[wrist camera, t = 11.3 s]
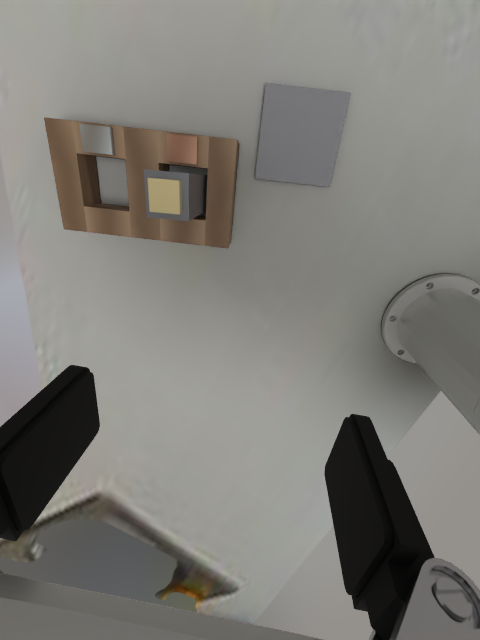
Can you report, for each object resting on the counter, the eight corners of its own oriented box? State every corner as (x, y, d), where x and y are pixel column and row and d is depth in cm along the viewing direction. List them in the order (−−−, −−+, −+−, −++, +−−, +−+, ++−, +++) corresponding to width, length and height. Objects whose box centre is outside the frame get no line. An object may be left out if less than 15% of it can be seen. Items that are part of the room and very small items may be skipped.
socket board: (239, 143, 29) (236, 138, 25) (230, 241, 33) (227, 249, 30) (67, 124, 29) (39, 116, 25) (81, 224, 34) (60, 230, 30)
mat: (349, 94, 27) (350, 92, 26) (328, 187, 30) (329, 187, 30) (265, 85, 27) (265, 83, 26) (254, 178, 30) (254, 178, 30)
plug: (208, 175, 30) (186, 173, 21) (208, 209, 32) (186, 222, 22) (177, 172, 30) (139, 168, 21) (177, 206, 32) (143, 218, 22)
